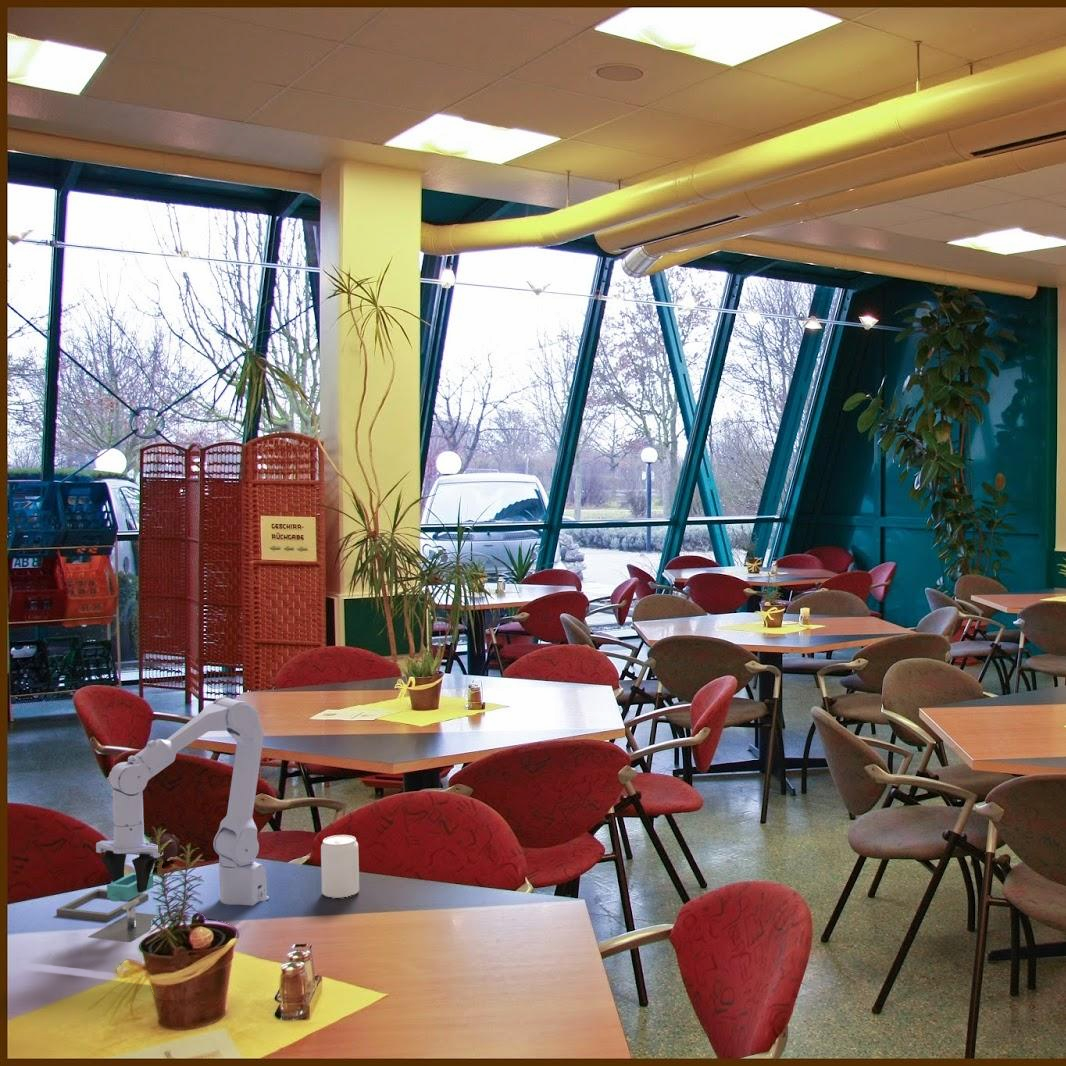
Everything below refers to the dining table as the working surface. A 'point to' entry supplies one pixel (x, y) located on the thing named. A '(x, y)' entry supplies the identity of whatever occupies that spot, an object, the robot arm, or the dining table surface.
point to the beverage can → (340, 866)
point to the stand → (127, 925)
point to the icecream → (170, 849)
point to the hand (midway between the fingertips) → (130, 889)
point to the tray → (72, 912)
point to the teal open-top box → (126, 888)
